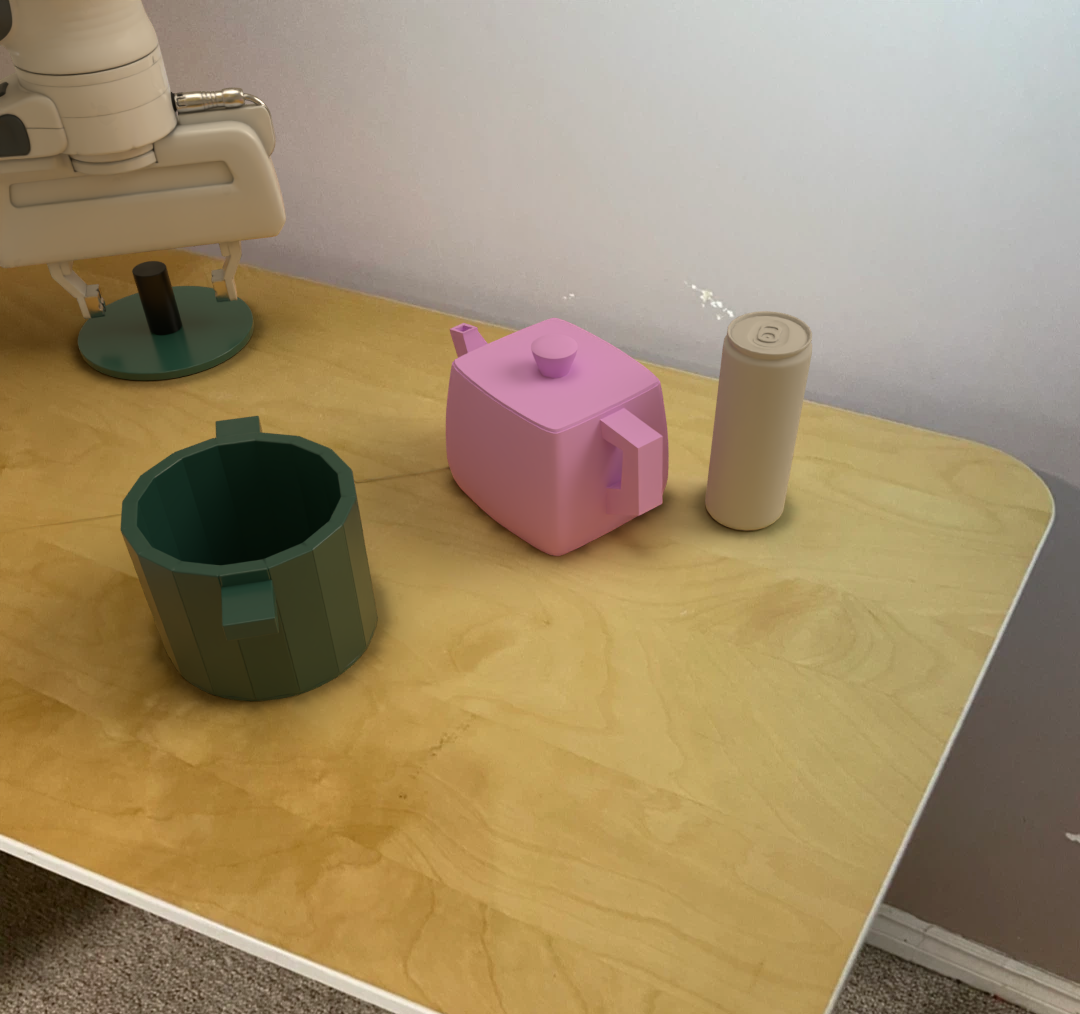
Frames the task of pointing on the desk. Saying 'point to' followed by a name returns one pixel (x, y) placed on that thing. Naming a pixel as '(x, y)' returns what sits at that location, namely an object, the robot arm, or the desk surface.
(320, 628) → the pot
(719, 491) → the beverage can
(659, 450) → the teapot
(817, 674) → the desk surface
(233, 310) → the lid
